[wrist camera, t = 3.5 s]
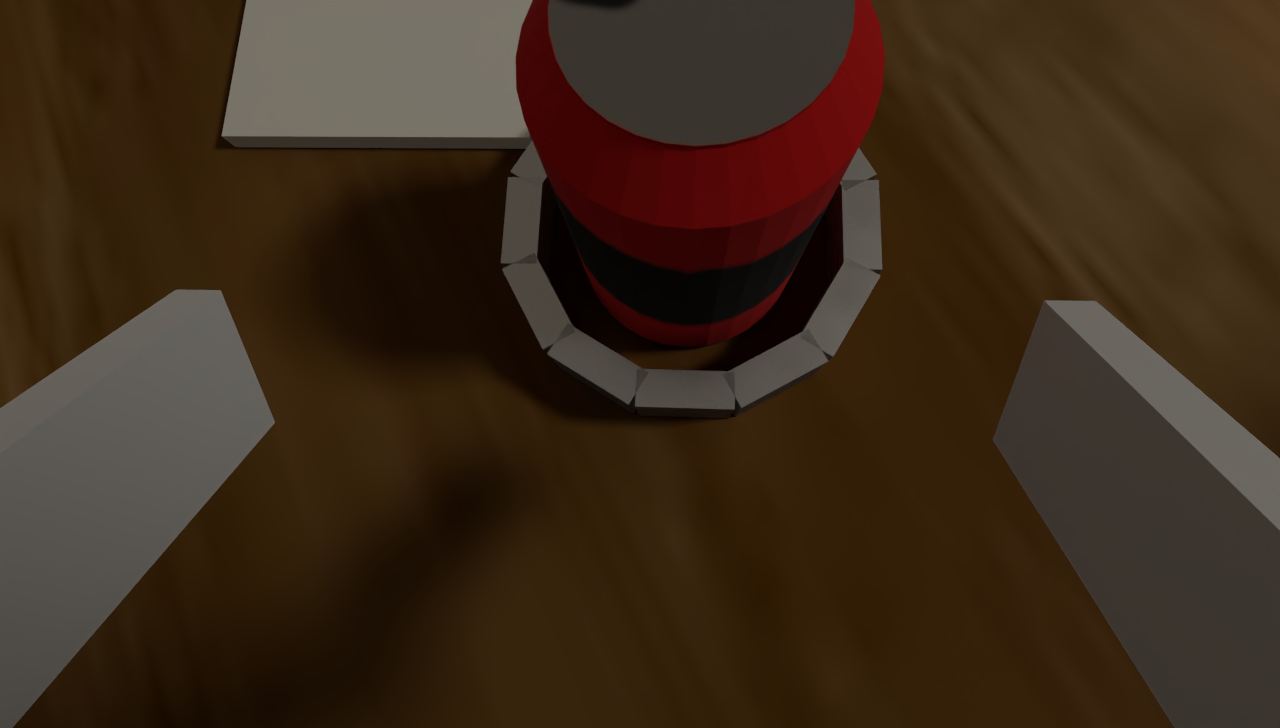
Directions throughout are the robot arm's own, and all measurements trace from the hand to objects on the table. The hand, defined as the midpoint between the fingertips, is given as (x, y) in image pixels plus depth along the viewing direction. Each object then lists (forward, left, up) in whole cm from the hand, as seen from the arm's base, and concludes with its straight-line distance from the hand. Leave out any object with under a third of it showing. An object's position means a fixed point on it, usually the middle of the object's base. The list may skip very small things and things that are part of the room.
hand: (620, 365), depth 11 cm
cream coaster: (+11, -17, -12) cm, 23 cm away
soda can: (-1, -7, -12) cm, 14 cm away
